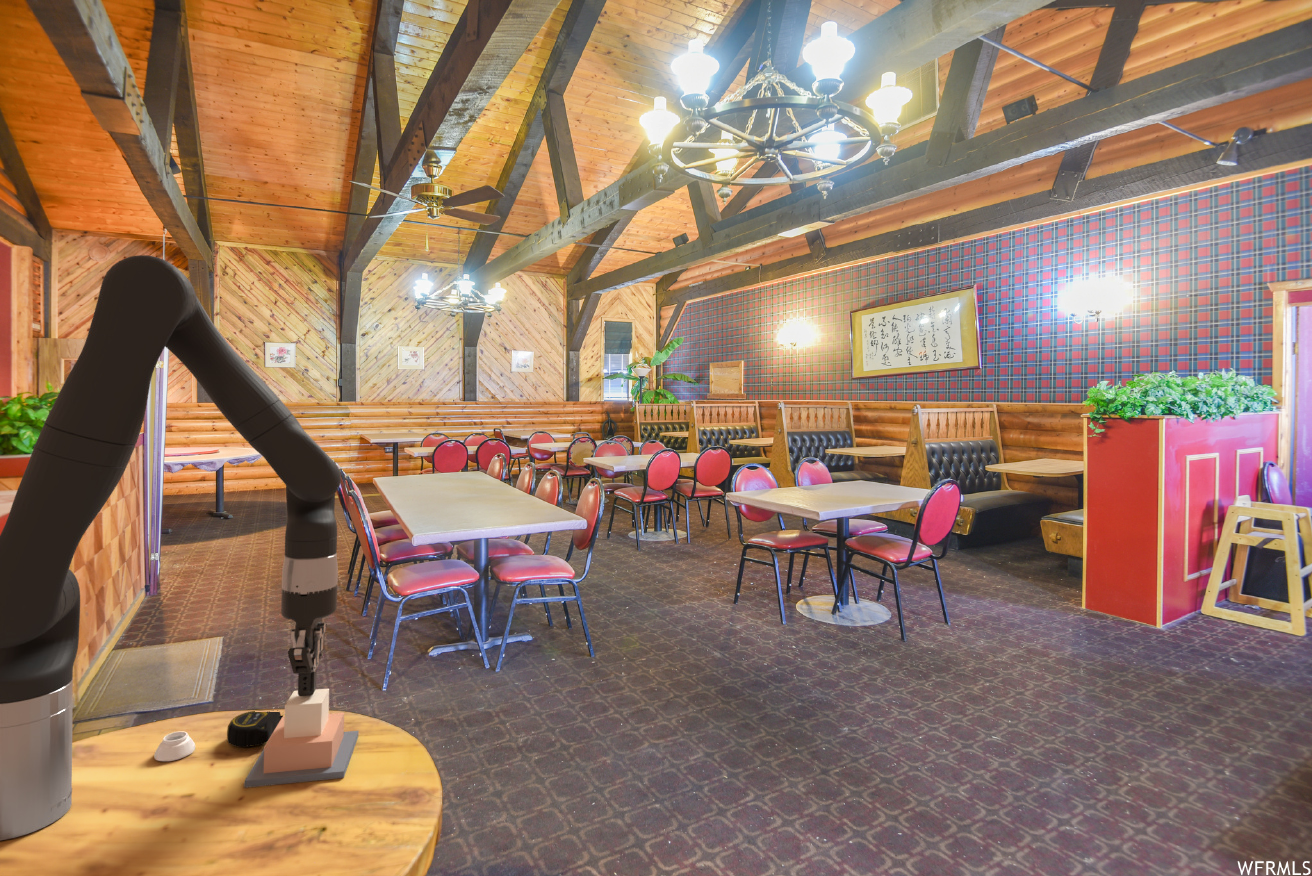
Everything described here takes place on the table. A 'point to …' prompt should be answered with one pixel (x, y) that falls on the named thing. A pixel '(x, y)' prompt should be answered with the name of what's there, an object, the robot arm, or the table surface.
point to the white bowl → (174, 747)
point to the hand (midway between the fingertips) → (306, 693)
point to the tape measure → (252, 728)
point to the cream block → (306, 714)
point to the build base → (305, 774)
